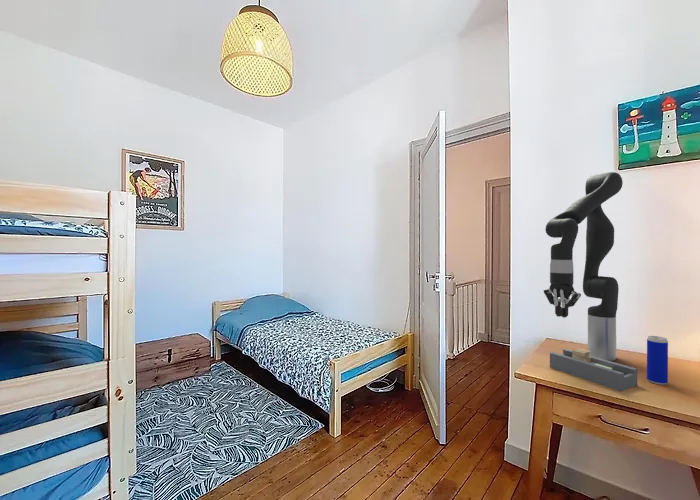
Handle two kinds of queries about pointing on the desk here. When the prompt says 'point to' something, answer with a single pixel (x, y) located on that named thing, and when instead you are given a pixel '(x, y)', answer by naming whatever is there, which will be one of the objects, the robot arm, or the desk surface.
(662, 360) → the blue cylinder
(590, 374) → the box
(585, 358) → the birch block
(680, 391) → the desk surface
